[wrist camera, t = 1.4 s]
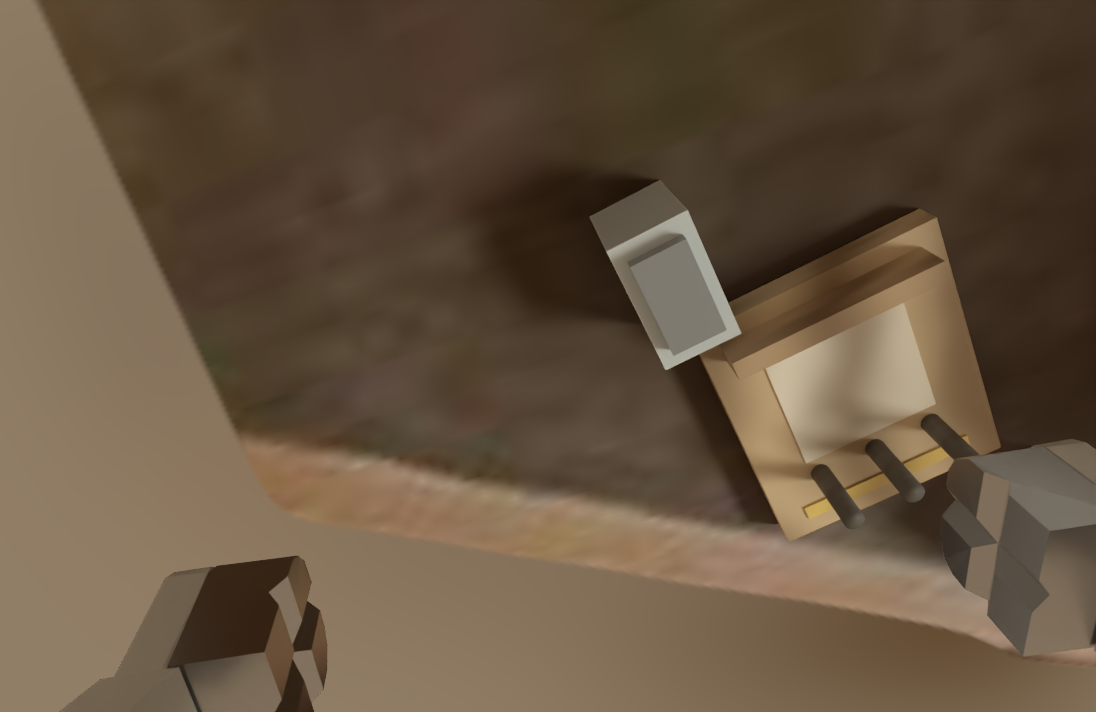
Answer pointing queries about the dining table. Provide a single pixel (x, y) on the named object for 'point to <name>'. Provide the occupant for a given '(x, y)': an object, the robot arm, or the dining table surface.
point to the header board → (854, 378)
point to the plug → (666, 273)
